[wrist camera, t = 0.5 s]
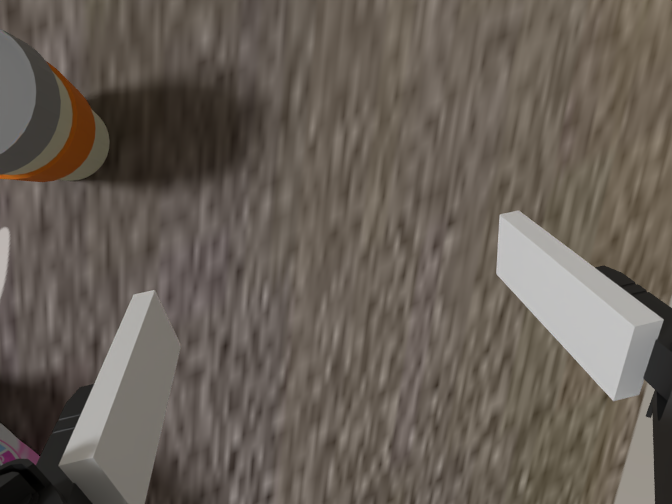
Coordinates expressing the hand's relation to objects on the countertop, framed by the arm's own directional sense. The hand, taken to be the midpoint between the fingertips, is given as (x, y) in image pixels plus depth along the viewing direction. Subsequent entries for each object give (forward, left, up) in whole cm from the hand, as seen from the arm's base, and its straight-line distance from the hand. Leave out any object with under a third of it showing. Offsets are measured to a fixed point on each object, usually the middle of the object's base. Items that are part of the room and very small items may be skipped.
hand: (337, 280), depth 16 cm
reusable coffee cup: (+29, +14, -34) cm, 47 cm away
